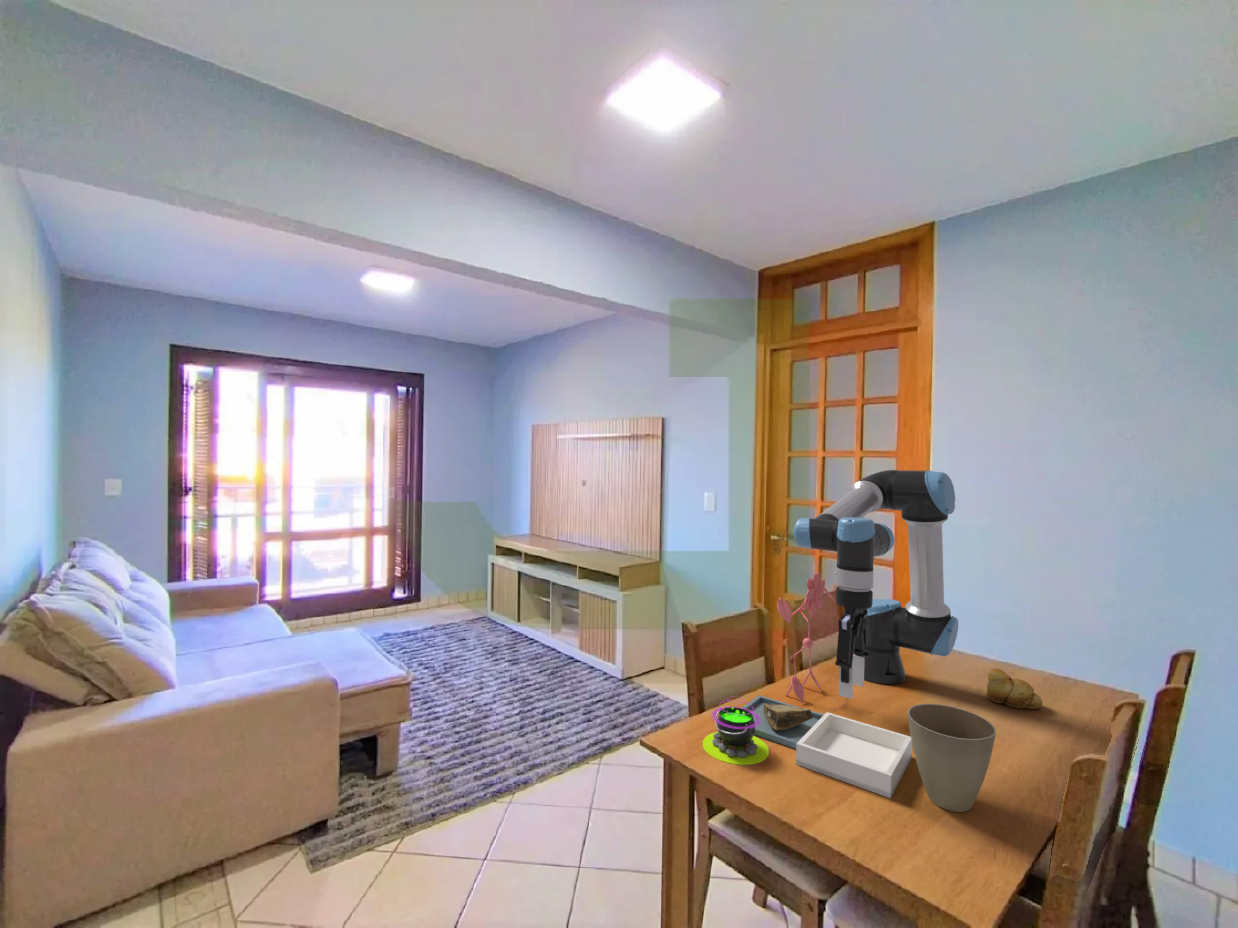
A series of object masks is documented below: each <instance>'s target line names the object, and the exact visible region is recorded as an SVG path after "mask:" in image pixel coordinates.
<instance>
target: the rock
mask: <svg viewBox="0 0 1238 928" xmlns="http://www.w3.org/2000/svg"><path fill="white" fill-rule="evenodd" d="M795 706H796V705H794V706H789V705H779V704H764V711H763V713H764V715H766V719H767V720H768V723H769V725H770V727H771V728H774V729H775V731H777V730H785V729H788V728H791V727H793V726H795V725H799V724H801V723H804V722H806V721H808V720H810V719H812V718H813V715H812V713H811V711H812V710H811V709H809V708H805V707H801V708H799V707H800V706H797V707H795ZM810 710H811V711H810Z"/></svg>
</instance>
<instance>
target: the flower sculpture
mask: <svg viewBox="0 0 1238 928" xmlns="http://www.w3.org/2000/svg"><path fill="white" fill-rule="evenodd" d="M825 586H826V579H824V578H823V579H822V580H821V573H820V571H817V572H816V573H814V575H813V579H812V578H809V579H807V580H806V589H807V592H806V595H805V599H804V601H803V602H802V604H801V605H800V607H798V608H797V609H796V610H795V611H794V612H793V610H792V608H791V606H790V604H789V603H788V602H787V601H786V600H784V599H783V598H782V597H779V598H778V600H777V604H776V605H777V607H776V608H777V611H778V613H779V615H780V617H782V619H783V620H785V622H786V623H787V624H791V621H792V620H793V619H792V617H793V616H794V615H795V614H797V613H798V612H799V613H800V614H801V615H802V616H803V617H802V618H804V620H805V621H806V623H807V634H808V635H807V636H808V637H805V638H804V639H803V640H802V646H803V647H802V648H800V650H798V651H797V652H796V653H794V654H793V667H794V668H793V669H794V676H792V677H791V678H790V679H791V681H790V682H791V684H790V686H789V688H788V690H787V692H786V693H785V697H788V696H789V694H790V692H791V690H793V692H794V695H795V696H796V697H797V699H798V700H799V701H800V702H801V704H804V701H805V691H804V685H805V684H806V682H807V680H808V678H809V677H811V678H812V680H813V682H814V683H815V685H816V686H817V687H818V689H819V690H822V688H821V686H820V684H819V682H818V680H817V678H816V677H815V675H814V674H813V670H812V661H811V660H812V659H811V658H812V657H811V647H813V644H814V642H813V640H812V639H811V622H810V621H809V619H808V617H807V616H806V615H805V614H804V612H803V611H807V610H808V612H809V617H810V618H813V617H814V616H816V615H817V612H818V609H819V610H820V609H822V608H823V607H824V601H823V595H824V593H825V594H826V595H827V596H828V597H829V598H830V599H831V600H832V601H833V602H835V603H836V598H835V597H833V595H832V594H831V593H830V592H829V590H828V589H827V588H826V587H825ZM805 648H806V649H807V650H808V658H809V668H807V670H808V672H807V674H806V675H805V678H804V679H803V682H802V683H801V681H800V680H799V677H797V669H796V656H797V655H798V654H799V653H800V652H802V651H803V650H805ZM845 705H846V702H844V703H843V704H842V705H840V706H837V707H834V708H829V710H830V711H832V710H835V709H838V708H841V707H843V706H845Z"/></svg>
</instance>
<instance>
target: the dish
mask: <svg viewBox="0 0 1238 928" xmlns="http://www.w3.org/2000/svg"><path fill="white" fill-rule="evenodd" d="M823 714H824V715H823V716H822V718H821V719H820V720H819V721H818V722H817V723H816V724H815V725H814V726H813V727H812V728H811V729H810V730H809V731H808V732H807V733H806V734H805V735H804V736H803V737H802V738H801V739H800V740H799V741H798V742H797V743H796V750H795V751H796V752H795V765H797V766H800V767H802V768H805V769H808V770H811V771H813V772H816V773H819V774H822V775H824V776H827V777H831V778H833V779H836V780H839V781H842V782H845V783H847V784H850V785H851V786H855V787H857V788H858V787H859V788H861V789H863V790H866V791H869V792H871V793H872V792H873V793H875V794H877V795H880V796H883V797H886V798H888V799H892V796H893V794H894V793H895V791H896V789H897V786H898V785H899V783H900V781H901V780H902V777H903V775H904V773H905V772H906V770H907V767H908V766H909V764H910V763H911V762H910V761H911V760H912V758H913V745H912V740H911V735H910V736H909V735H906V734H903V733H899V732H897V731H893V730H889V729H886V728H883V727H879V726H875V725H871V724H869V723H865V722H862V721H858V720H855V719H853V718H852V719H851V718H848V717H844V716H842V715H838V714H834V713H831V712H828V711H826V712H825V713H823Z"/></svg>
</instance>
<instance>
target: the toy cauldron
mask: <svg viewBox="0 0 1238 928" xmlns="http://www.w3.org/2000/svg"><path fill="white" fill-rule="evenodd" d="M734 697H736V696H735V695H734V696H733V695H732V696H729V698H727V699H726V702H727V701H728V702H729V703H730V698H734ZM738 697H739V698H740V699H741V696H738ZM742 699H743V700H739V699H735V701H737V702H738V701H739V702H741V703H739V702H738V703H736V704H737V705H740V704H741V705H743V704H744V706H746V704H749V702H747V701H746V700H745V698H742ZM724 702H725V700H723V701H722V702H720V703H718V706H719V707H717V709H713V710H712V711H711V713H710V717H711V720H713V721H714V722H715V727H716V729H717V731H716V732H712V733H709V734H708V735H706V736H705V737H704V739H703V740H702V747H703V750H704V751H705V752H706V754H708V756H709V755H710V757H713V758H714V759H716V760H718V761H721V762H723V763H727V764H730V765H739V766H740V765H741V766H748V765H750V766H751V765H756V764H759V763H762V762H764V761H765V760H766V759H767V758H768V757H769V755H770V754H769V753H770V750H769V747H768V745H767V744H766V743H765V742H764V741H763V740H761V739H760V737H758V736H755V735H754V733H755V727H758V725H760V723H761V721H762V720H761V719H760V718H761V717H760V718H759V716H758V714H756V715H755V712H754V711H752V710H754V709H752V710H747V709H745V708H743V709H742V707H741V706H734V705H733V706H726V705H725V706H721V704H722V703H724ZM744 706H743V707H744ZM750 706H751V705H750ZM751 707H752V706H751ZM752 712H753V713H752ZM751 713H752V714H753V715H754V716H755V717H757V718H756V719H758V720H759V721H758V722H757V720H756V722H757V724H755V723H756V722H755V723H754V719H753V715H752V714H751ZM759 722H760V723H759ZM756 725H757V726H756Z"/></svg>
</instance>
